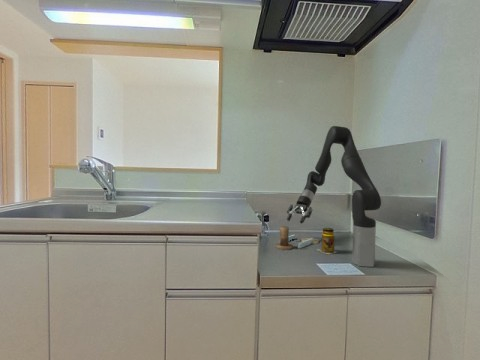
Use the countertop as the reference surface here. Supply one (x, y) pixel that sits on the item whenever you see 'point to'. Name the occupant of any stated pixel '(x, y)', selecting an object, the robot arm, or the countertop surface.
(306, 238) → the coaster
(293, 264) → the countertop surface
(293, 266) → the countertop surface
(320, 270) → the countertop surface
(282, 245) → the wooden peg stand
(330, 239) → the condiment
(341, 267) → the countertop surface
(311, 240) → the pale blue rack
